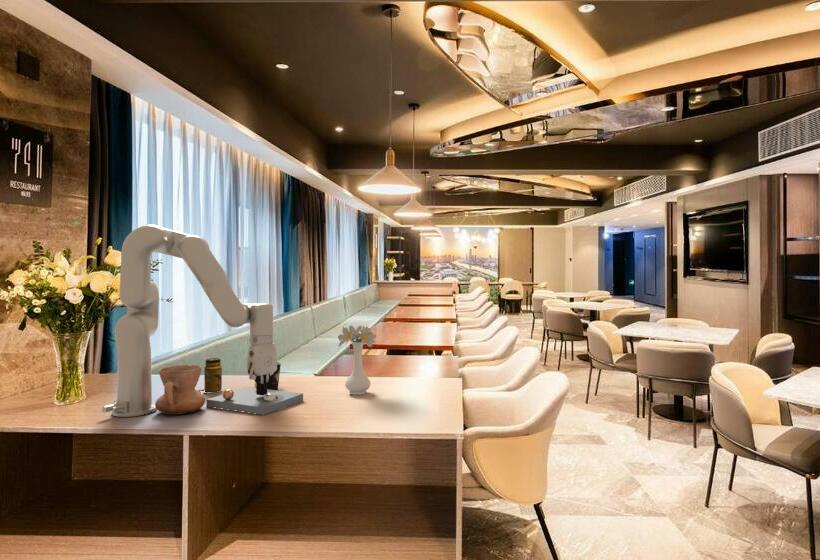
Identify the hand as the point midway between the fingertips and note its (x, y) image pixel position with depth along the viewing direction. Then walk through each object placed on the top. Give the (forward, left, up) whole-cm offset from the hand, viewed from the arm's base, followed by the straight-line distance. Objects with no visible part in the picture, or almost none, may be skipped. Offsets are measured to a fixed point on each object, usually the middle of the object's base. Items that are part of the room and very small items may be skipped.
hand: (261, 394), depth 169 cm
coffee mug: (+19, +12, -4) cm, 22 cm away
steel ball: (0, -3, -1) cm, 4 cm away
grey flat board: (0, +3, -3) cm, 4 cm away
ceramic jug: (-18, +18, -4) cm, 25 cm away
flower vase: (+28, -20, -4) cm, 35 cm away
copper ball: (-8, +8, +1) cm, 11 cm away
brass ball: (+7, +8, +1) cm, 11 cm away
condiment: (+7, +31, -4) cm, 32 cm away
